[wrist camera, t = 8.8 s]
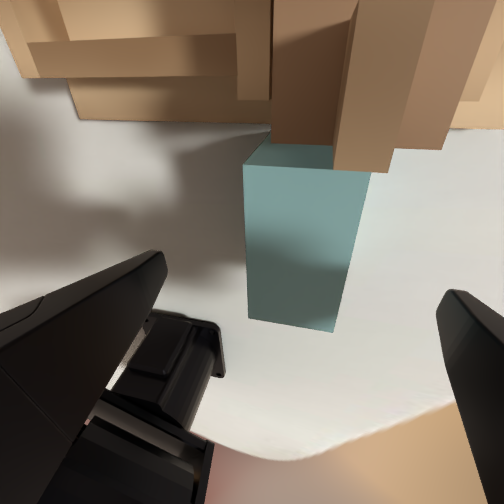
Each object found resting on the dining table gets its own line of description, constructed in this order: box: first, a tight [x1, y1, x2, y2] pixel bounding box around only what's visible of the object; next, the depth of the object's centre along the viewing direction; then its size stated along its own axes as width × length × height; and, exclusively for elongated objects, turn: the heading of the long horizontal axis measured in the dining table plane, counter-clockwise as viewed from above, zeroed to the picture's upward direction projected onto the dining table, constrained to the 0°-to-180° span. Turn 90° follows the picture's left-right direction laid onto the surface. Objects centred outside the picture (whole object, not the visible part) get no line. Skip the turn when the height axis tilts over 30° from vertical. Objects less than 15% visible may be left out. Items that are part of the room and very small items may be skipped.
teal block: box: [243, 133, 371, 333], centre depth 11 cm, size 4×6×5 cm, turn 1°
